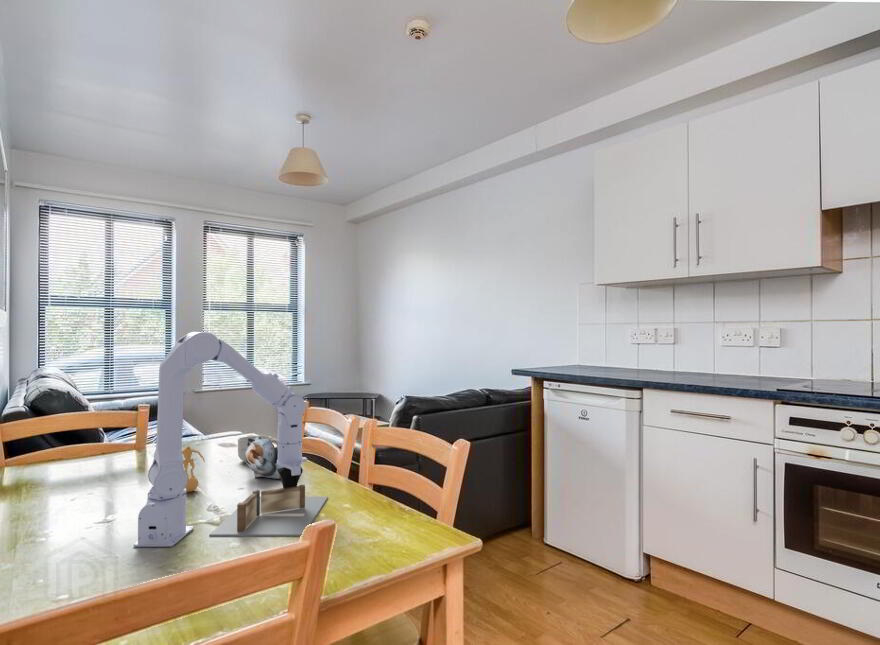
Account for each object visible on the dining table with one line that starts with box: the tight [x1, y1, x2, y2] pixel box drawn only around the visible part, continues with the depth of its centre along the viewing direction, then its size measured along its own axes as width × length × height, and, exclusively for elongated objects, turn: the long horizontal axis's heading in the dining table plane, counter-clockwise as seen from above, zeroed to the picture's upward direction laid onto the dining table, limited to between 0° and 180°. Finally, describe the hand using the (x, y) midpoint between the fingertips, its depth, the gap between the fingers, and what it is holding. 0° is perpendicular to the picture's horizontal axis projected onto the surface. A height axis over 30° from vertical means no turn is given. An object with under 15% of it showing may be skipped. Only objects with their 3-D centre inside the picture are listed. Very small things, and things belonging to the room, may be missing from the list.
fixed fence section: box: [236, 489, 261, 532], centre depth 114 cm, size 10×2×6 cm, turn 0°
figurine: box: [182, 445, 206, 493], centre depth 137 cm, size 8×6×12 cm
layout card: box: [208, 496, 329, 537], centre depth 119 cm, size 24×20×1 cm
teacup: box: [237, 434, 278, 464], centre depth 167 cm, size 14×11×8 cm
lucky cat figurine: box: [245, 437, 284, 480], centre depth 150 cm, size 15×12×14 cm
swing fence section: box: [260, 484, 306, 513], centre depth 121 cm, size 10×1×5 cm, turn 114°
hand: (289, 497), depth 123 cm, fingers closed
